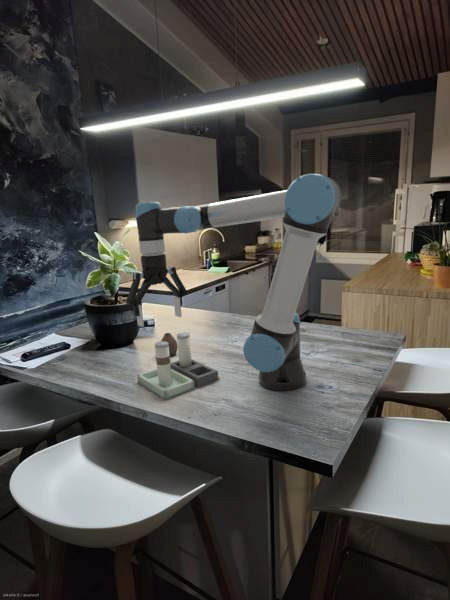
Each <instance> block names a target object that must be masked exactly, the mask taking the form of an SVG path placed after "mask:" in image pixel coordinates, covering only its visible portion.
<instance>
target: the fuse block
mask: <svg viewBox="0 0 450 600" xmlns="http://www.w3.org/2000/svg"><path fill="white" fill-rule="evenodd" d="M191 360H192V365H191V366H188V367H185V368H181V367H179V360H176V361H173V362H170V365H171V369H173V370H175V371H177V372H178V373H180V374H182V375H184V376H186V377H188V378H190V379H192V380H194V384H195V387H202V386H205V385H207V384H210V383H212V382H215V381H218V380H220V378H221V377H220V376H219V371H218V370H217V369H214V368H212V367H210V366H207V365H205V364H203V363H201V362H198V361H197V360H195V359H192V358H191Z"/></svg>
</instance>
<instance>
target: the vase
mask: <svg viewBox="0 0 450 600" xmlns="http://www.w3.org/2000/svg"><path fill="white" fill-rule="evenodd" d="M161 341H166V342H168V344H169V354H170V357H173V356H175V355H176V353H178V345H177V339H176V338H175V337H174V336H173V334H172V333H170V332H166V333H164V335H163V337H162V338H161V340H160V342H161Z"/></svg>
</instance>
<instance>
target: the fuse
mask: <svg viewBox="0 0 450 600" xmlns="http://www.w3.org/2000/svg"><path fill="white" fill-rule="evenodd" d="M190 337H191V336H190V333H189V332H179V333H177V334H176V342H177V346H178V348H177V354H178V361H179V367H181V368H185V367H188V366H191V365H192V360H193V359H192V349H191V348H192V347H191V338H190ZM191 359H192V360H191Z"/></svg>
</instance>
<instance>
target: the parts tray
mask: <svg viewBox="0 0 450 600" xmlns="http://www.w3.org/2000/svg"><path fill="white" fill-rule="evenodd" d="M171 375H172V384H171V385H169V386H160V385H159V382H158V372H157V368H155V369H151V370H148V371H145V372H141V373H139V374H137V383H139V384H140V385H142V386H143V387H145V388H146V389H148V390H150V391H151V392H153V393H154V394H156V395H157V396H159V397H161V398H162V399H164V400H165V399H166V400H168V399H171V398H173V397H176V396H179V395H181V394H183V393H186V392H190V391H192V390H194V389H196V388H195V387H196V385H195V384H194V380H192V379H190V378H188V377H186V376H184V375H182V374H180V373H178V372H177V371H175V370H173V369H171Z"/></svg>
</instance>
